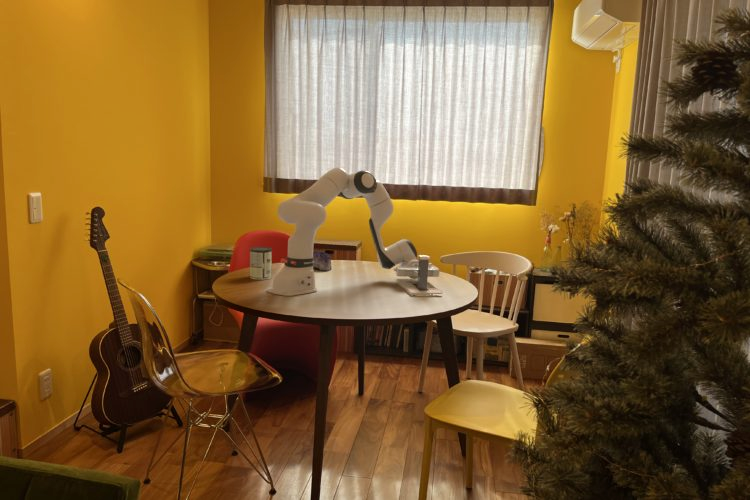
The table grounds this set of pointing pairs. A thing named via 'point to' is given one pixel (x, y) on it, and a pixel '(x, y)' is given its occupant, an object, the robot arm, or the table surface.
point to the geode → (322, 261)
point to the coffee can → (260, 263)
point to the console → (412, 290)
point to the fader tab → (423, 272)
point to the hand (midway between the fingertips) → (421, 275)
